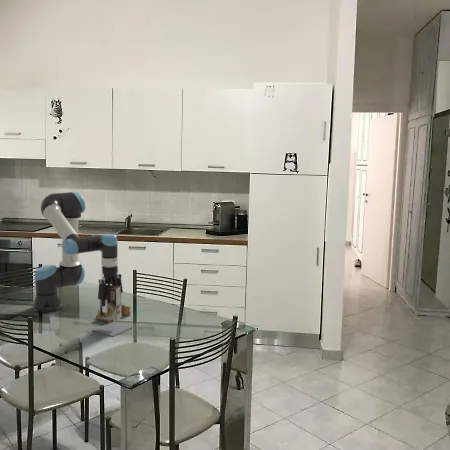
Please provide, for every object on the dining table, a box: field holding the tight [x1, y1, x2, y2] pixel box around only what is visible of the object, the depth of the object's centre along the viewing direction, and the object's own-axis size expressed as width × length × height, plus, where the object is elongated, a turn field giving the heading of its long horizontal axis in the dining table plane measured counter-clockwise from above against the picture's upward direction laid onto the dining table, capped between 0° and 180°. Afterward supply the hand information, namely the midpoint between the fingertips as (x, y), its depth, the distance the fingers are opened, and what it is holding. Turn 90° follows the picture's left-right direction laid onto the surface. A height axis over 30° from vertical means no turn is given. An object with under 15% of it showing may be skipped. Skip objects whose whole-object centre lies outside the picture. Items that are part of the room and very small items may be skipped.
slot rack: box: [95, 303, 131, 323], centre depth 272 cm, size 12×14×5 cm
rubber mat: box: [92, 321, 134, 338], centre depth 256 cm, size 14×14×1 cm
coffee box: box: [99, 284, 123, 321], centre depth 254 cm, size 9×6×16 cm
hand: (110, 309), depth 255 cm, fingers closed on coffee box, 8 cm apart
